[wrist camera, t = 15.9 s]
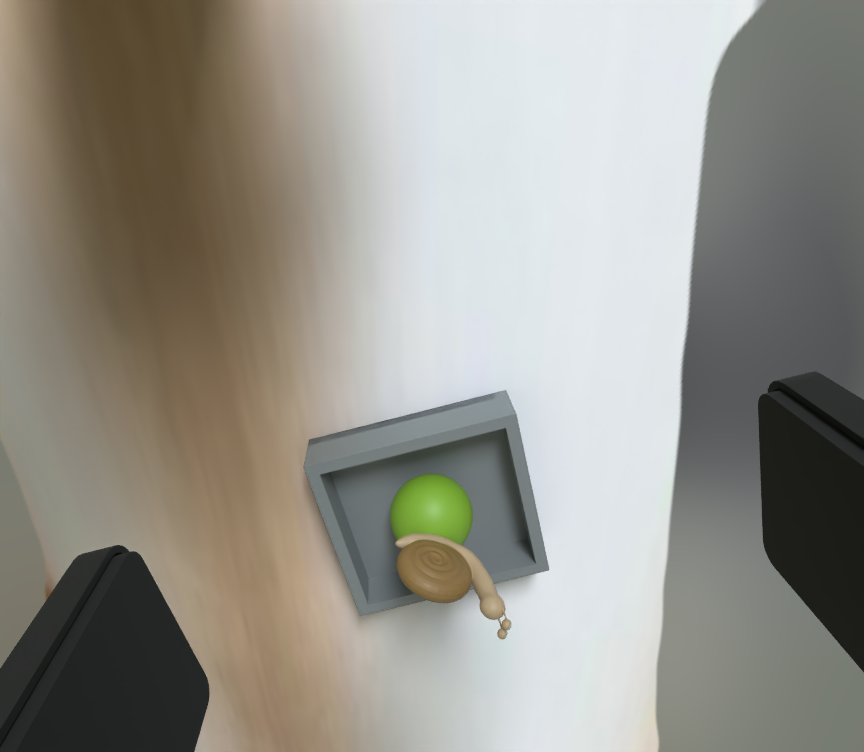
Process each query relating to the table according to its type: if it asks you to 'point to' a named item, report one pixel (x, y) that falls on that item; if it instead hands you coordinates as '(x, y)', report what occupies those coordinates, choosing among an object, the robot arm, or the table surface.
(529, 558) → the bin
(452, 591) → the snail figurine
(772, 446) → the robot arm
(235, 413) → the table surface
